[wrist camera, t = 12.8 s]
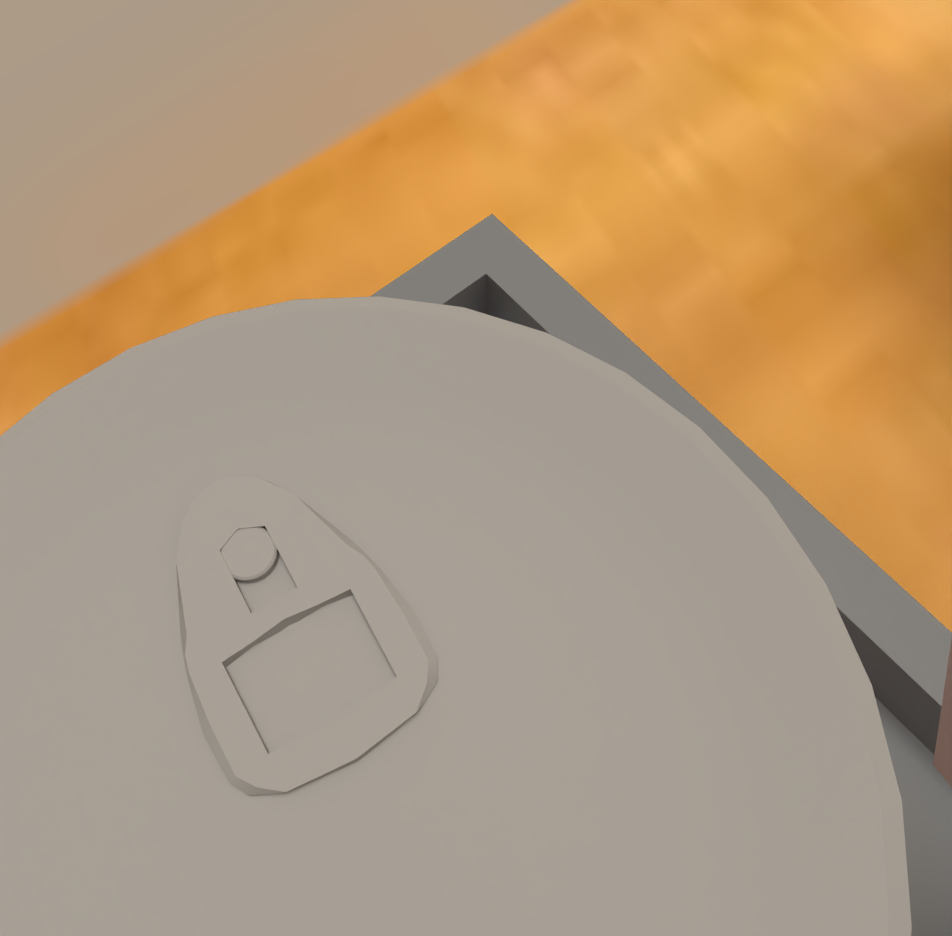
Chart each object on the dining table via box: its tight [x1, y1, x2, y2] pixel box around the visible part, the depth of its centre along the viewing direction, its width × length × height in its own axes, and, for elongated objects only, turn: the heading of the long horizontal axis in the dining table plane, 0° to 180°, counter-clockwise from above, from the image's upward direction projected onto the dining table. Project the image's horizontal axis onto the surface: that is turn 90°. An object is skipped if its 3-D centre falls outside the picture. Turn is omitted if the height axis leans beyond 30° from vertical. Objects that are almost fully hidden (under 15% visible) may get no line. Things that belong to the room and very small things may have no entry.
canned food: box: [0, 296, 912, 936], centre depth 11 cm, size 8×8×11 cm
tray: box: [370, 214, 952, 936], centre depth 15 cm, size 18×18×2 cm
